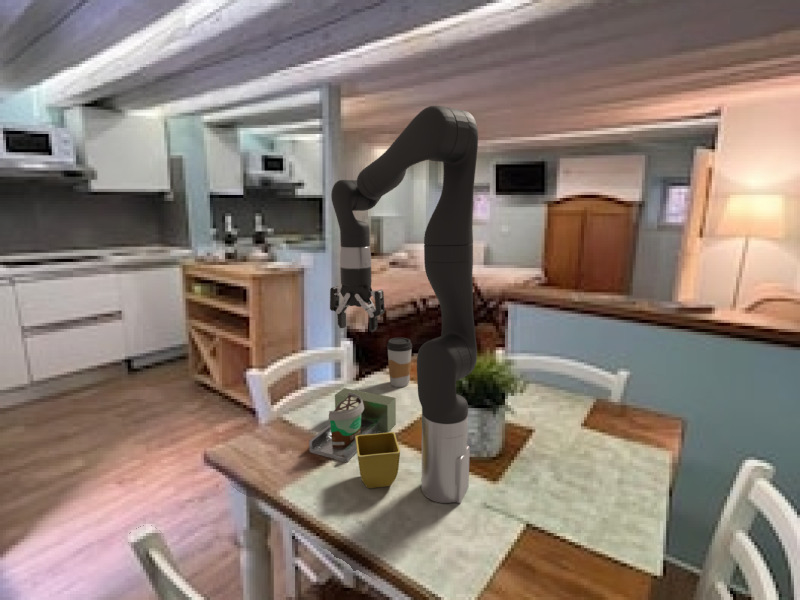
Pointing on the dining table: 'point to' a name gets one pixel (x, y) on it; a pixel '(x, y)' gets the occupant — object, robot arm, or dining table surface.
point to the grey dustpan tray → (373, 420)
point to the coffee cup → (399, 361)
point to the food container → (346, 421)
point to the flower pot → (378, 458)
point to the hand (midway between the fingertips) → (357, 329)
